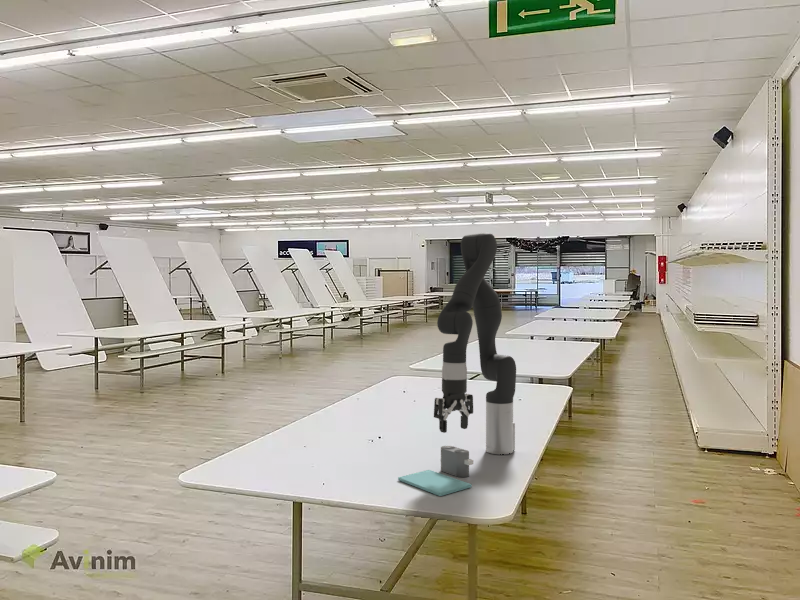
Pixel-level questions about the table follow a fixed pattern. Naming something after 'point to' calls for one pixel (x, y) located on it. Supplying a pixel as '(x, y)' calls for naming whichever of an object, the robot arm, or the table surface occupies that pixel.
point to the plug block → (455, 461)
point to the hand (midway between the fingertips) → (453, 430)
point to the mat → (435, 482)
